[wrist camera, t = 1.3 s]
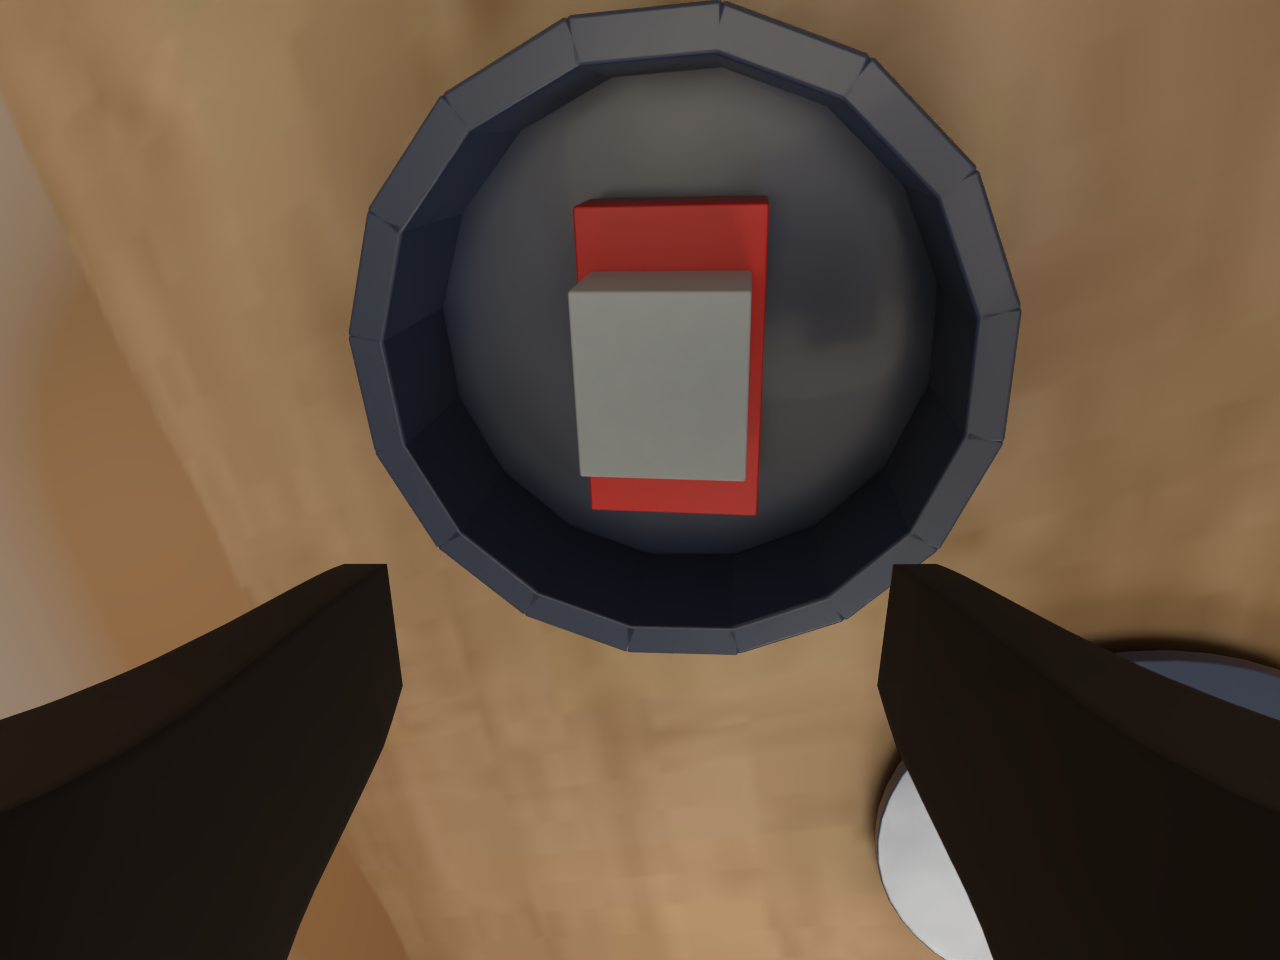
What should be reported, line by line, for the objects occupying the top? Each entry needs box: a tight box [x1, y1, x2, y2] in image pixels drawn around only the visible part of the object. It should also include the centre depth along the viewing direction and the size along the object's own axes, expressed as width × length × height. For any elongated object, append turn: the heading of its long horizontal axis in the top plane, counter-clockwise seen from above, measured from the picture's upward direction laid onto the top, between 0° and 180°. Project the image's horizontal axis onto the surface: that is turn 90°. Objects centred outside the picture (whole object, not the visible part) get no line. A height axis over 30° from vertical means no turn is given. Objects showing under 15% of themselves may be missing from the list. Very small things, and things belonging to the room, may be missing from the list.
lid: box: [875, 650, 1280, 960], centre depth 22 cm, size 15×15×5 cm
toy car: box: [568, 195, 769, 515], centre depth 17 cm, size 7×4×5 cm, turn 2°
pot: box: [349, 0, 1021, 655], centre depth 18 cm, size 14×14×4 cm
